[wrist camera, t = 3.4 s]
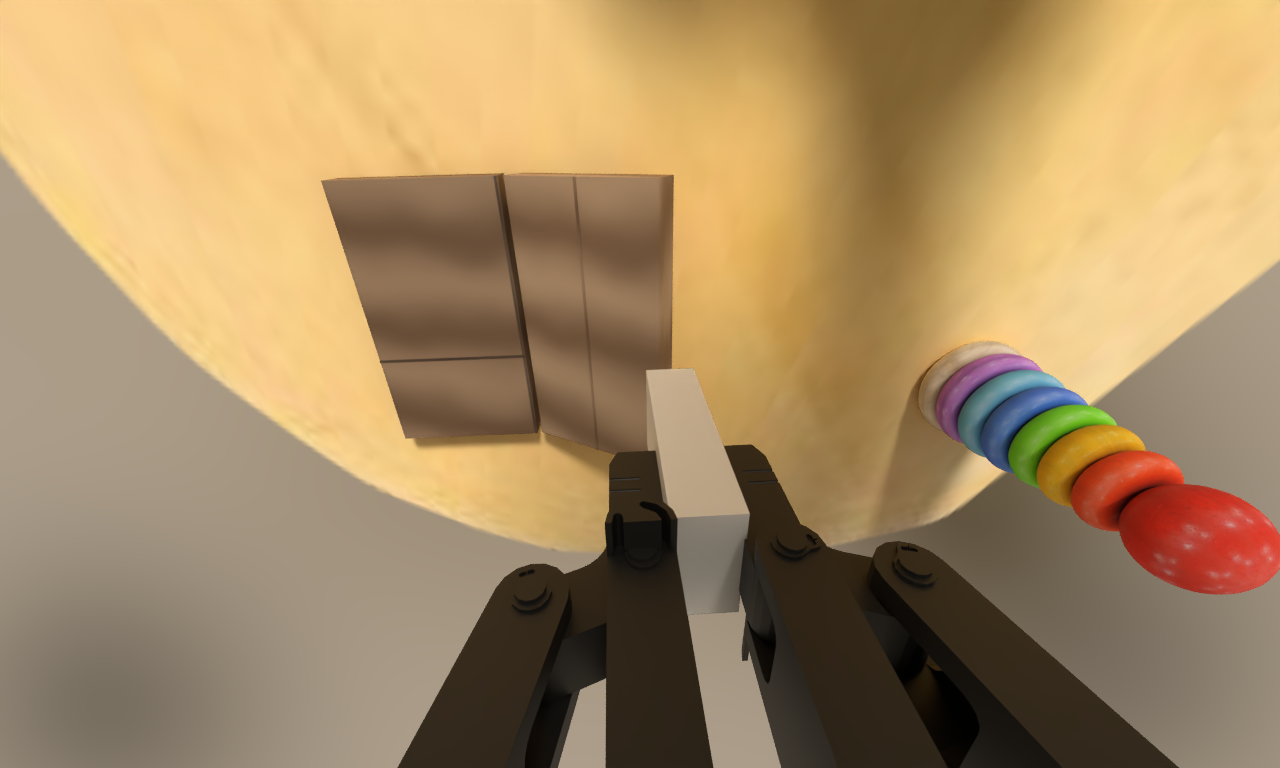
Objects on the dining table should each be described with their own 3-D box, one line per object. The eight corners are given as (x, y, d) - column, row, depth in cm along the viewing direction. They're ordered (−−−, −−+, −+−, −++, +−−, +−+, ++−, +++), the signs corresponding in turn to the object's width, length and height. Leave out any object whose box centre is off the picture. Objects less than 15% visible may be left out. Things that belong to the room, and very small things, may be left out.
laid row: (338, 178, 28) (320, 180, 26) (503, 173, 28) (496, 175, 26) (414, 425, 36) (405, 438, 35) (541, 420, 37) (537, 433, 35)
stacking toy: (959, 438, 39) (1205, 656, 23) (892, 400, 37) (1110, 611, 21) (1037, 365, 36) (1386, 557, 20) (968, 319, 34) (1295, 491, 18)
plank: (523, 173, 28) (502, 175, 27) (673, 175, 24) (658, 177, 22) (556, 420, 37) (541, 432, 35) (670, 453, 32) (659, 469, 31)
